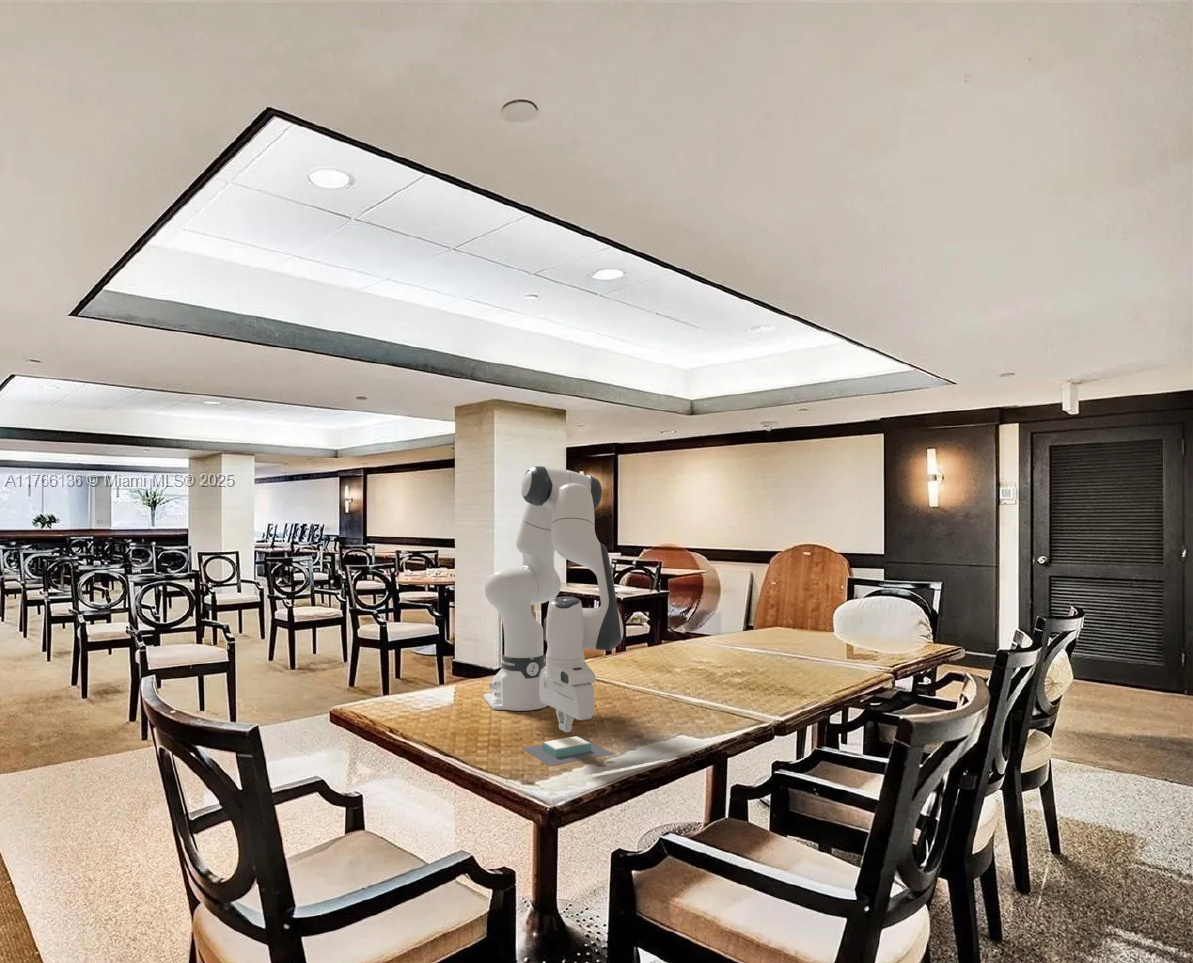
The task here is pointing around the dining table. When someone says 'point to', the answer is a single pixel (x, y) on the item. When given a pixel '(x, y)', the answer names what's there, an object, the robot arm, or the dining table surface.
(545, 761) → the mat
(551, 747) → the box
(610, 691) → the dining table surface
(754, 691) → the dining table surface
